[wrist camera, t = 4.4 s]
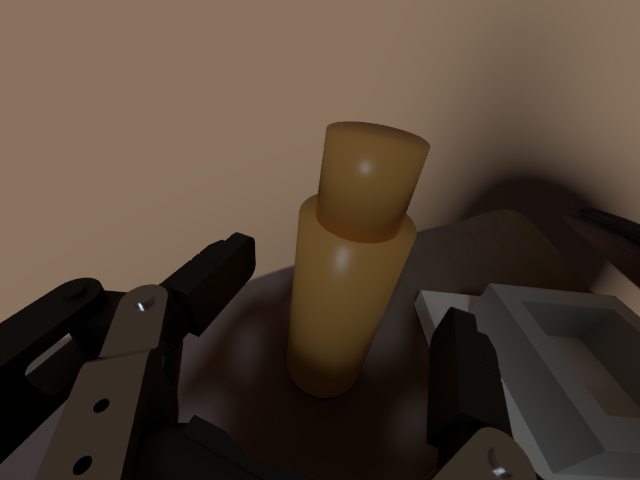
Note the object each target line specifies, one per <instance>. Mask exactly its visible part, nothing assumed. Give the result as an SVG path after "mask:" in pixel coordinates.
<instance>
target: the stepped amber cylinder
mask: <svg viewBox="0 0 640 480" xmlns="http://www.w3.org/2000/svg"><path fill="white" fill-rule="evenodd" d="M429 149H430V145H429V143H428V142H427V141H425V140H424V139H422V138H421V137H419V136H417V135H414V134H412V133H409V132H407V131H403V130H400V129H396V128H393V127H388V126H384V125H379V124H372V123H365V122H337V123H332V124H330V125H329V126H327V129H326V136H325V143H324V152H323V159H322V167H321V174H320V182H319V190H318V194H316V195H314V196H312V197H310V198H308V199H307V200H306V201H305V202H304V203H303V204H302V206H301V207H300V211H299V222H298V233H297V244H296V245H297V246H296V256H295V267H294V278H293V290H292V301H291V312H290V324H289V335H288V346H287V359H286V361H287V368H288V371H289V374H290V376H291V378H292V380H293V381H294V383H295V384H296V385H297V386H298V387H299V388H300V389H302V390H303V391H304V392H306V393H308V394H310V395H312V396H315V397H320V398H332V397H336V396H339V395H341V394H343V393H345V392H346V391H348V390H349V389H350V388H351V387H352V385H353V384H354V383H355V381H356V379H357V377H358V374H359V372H360V369H361V367H362V365H363V362H364V360H365V358H366V355H367V353H368V350H369V348H370V346H371V343H372V341H373V338H374V336H375V334H376V331H377V329H378V327H379V324H380V322H381V319H382V317H383V315H384V312H385V310H386V307H387V305H388V303H389V300H390V298H391V295H392V293H393V291H394V288H395V286H396V284H397V281H398V279H399V276H400V274H401V272H402V269H403V267H404V264H405V262H406V260H407V257H408V255H409V253H410V250H411V248H412V245H413V243H414V241H415V238H416V233H417V232H416V227H415V225H414V223H413V221H412V220H411V218H410V217H409V216H408V215H407V214H406V212H407V209H408V206H409V204H410V201H411V198H412V196H413V192H414V190H415V187H416V184H417V182H418V179H419V176H420V174H421V171H422V168H423V165H424V163H425V160H426V157H427V155H428V152H429Z"/></svg>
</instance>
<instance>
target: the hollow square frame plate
mask: <svg viewBox="0 0 640 480" xmlns="http://www.w3.org/2000/svg"><path fill="white" fill-rule="evenodd" d="M414 305H415V308H416V311H417V314H418V317H419V320H420V323H421V326H422V329H423V331H424V334H425V337H426V340H427V343H428V346H429V349H430V342H431V338H432V335H433V333H434V331H435V329H436V328H437V326H438V324H439V323H440V321H441V320H442V318H443V317H444V315H445V313H446V312H447V310H448V309H449V308H450V307H455V308H457V309H460V310H463V311H466V312H469V313H472V314H474V315H475V317H476V322H477V329H478V332H481V333H484V334H487V336H488V337H489V339H490V341H491V342H492V344H493V346H494V348H495V349H496V353H497V358H498V363H499V366H498V368H500V373H501V381H502V383H503V389H504V394H505V399H506V404H507V409H508V414H509V419H510V424H511V430H512V434H513V438H514V440H515V441H516V442H517V443H518V444H519V446H520V447H521V448H522V449H523V450H524V452H525V453H526V455H527V456H528V458H529V460H530V461H531V463H532V466H533V468H534V471H535V472H536V473H537V474H538V475H539V476H541V477H542V478H543V479H544V480H640V317H639V316H638V315H636V314H635V313H634V312H633V311H632V310H631V309H630V308H628V307H627V306H626V305H625V304H624V303H623V302H621V301H620V300H619V299H618V298H617V297H616V296H609V295H599V294H589V293H580V292H570V291H560V290H550V289H541V288H531V287H521V286H512V285H502V284H492V283H490V284H489V285H488V287H487V288H486V289H485V291H484V292H483V294H482V295H481V296H472V295H462V294H452V293H442V292H432V291H422V290H421V291H420V293H419V295H418V297H417V299H416V301H415V303H414Z"/></svg>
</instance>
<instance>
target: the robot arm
mask: <svg viewBox="0 0 640 480" xmlns="http://www.w3.org/2000/svg"><path fill="white" fill-rule="evenodd" d="M255 266H256V260H255V240H254V238H252V237H250V236H247V235H244V234H241V233H238V232H236V233H234V234H233V235H231V236H230V237H229V238H228V239H227V240H225V241H224V240H220V241H218V242H215V243H213V244H210V245H208V246H207V247H206V248H205V249H203V250H202V251H201V252H200V254H197V255H196V256H195V257H193V258H192V260H190V261H188V262H187V263H186V264H185V265H183V266H182V267H181V268H180V269H178V270H177V271H176V272H174V273H173V274H172V275H171V276H170V277H168V278H167V279H166V280H164V281H163V282H162V283H161V284H159V285H153V284H152V285H144V286H140V287H137V288H135V289H133V290H131V291H130V292H116V291H105V290H104V289H103V287H102V285H101V283H100V282H99V281H98V280H96V279H93V278H80V279H75V280H71V281H69V282H66V283H64V284H62V285H60V286H58V287H57V288H55V289H54V290H52V291H50V292H49V293H47V294H46V295H44V296H43V297H41V298H39V299H38V300H36V301H35V302H33V303H31V304H30V305H28V306H27V307H25V308H24V309H22V310H20V311H19V312H17V313H16V314H14V315H13V316H11V317H9V318H8V319H6V320H5V321H3V322H1V323H0V464H1V463H2V462H3V461H4V460H5V459H6V458H7V457H8V456H9V455H10V454H11V453H12V452H13V451H14V450H15V449H16V448H17V447H18V446H20V445H21V444H22V443H23V442H24V441H25V440H26V439H27V438H28V437H29V436H30V435H31V434H32V433H33V432H34V431H35V430H36V429H37V428H38V427H39V426H40V425H41V424H42V423H43V422H44V421H45V420H46V419H47V418H48V417H49V416H50V415H52V414H53V413H54V412H55V411H56V410H57V409H58V408H59V407H60V406H61V405H62V404H63V403H64V402H65V401H66V400H67V399H68V400H67V403H66V405H65V408H64V410H63V413H62V415H61V417H60V420H59V422H58V425H57V427H56V429H55V432H54V434H53V437H52V439H51V442H50V444H49V446H48V449H47V451H46V454H45V456H44V459H43V461H42V463H41V466H40V468H39V471H38V473H37V475H36V478H35V480H315V479H313V478H311V477H309V476H307V475H305V474H303V473H302V472H300V471H298V470H296V469H294V468H288V467H282V466H276V465H270V464H264V463H258V462H254V461H252V460H251V459H250V458H249V457H248V456H247V455H246V454H245V453H244V452H243V451H242V449H241V448H240V447H239V446H238V445H237V444H236V443H235V442H234V441H233V439H232V438H231V437H230V436H229V435H228V434H227V433H226V432H225V431H224V430H222V429H220V428H218V427H216V426H215V425H213V424H211V423H209V422H207V421H205V420H203V419H202V418H200V417H198V416H196V415H194V416H193V417H192V419H191V420H190V422H189V423H178V418H179V404H178V383H179V374H180V366H181V358H182V349H183V338H184V337H185V336H186V335H187V334H188V333H191V334H193V335H196V336H198V337H199V336H200V335H201V334H202V333H203V332H204V331H205V329H206V328H207V327H208V326H209V325H210V324H211V323H212V321H213V320H214V319H215V318H216V317H217V316H218V315H219V313H220V312H221V311H222V310H223V309H224V308H225V307H226V305H227V304H228V303H229V302H230V301H231V300H232V299H233V297H234V296H235V295H236V294H237V293H238V292H239V291H240V289H241V288H242V287H243V286H244V285H245V284H246V283H247V281H248V280H249V279H250V278H251V276H252V275H253V273H254V270H255ZM68 333H69V334H70V335H71V337H72V338H73V339H71V340H70V341H69V342H68V343H66V344H65V345H64V346H63V347H62V348H60V349H59V350H58V351H57V352H55V353H54V354H53V355H52V356H50V357H49V358H48V359H47V360H45V361H44V362H43V363H42V364H41V365H39V366H38V367H37V368H36V369H34V370H33V371H32V372H31V373H29V374H28V375H26V376H25V371H26V369H27V367H28V366H29V365H30V364H31V363H32V362H33V361H34V360H35V359H36V358H37V357H39V356H40V355H41V354H43V353H44V352H45V351H46V350H48V349H49V348H50V347H51V346H53V345H54V344H55V343H57V342H58V341H59V340H60V339H62V338H63V337H64V336H66V335H67V334H68ZM498 366H499V363H498V358H497V353H496V349H495V348H494V346H493V344H492V342H491V341H490V339H489V337H488V336H487V334H484V333H481V332H478V329H477V322H476V317H475V315H474V314H472V313H469V312H466V311H463V310H460V309H457V308H455V307H450V308H449V309H448V310H447V312H446V313H445V315H444V317H443V318H442V320H441V321H440V323H439V324H438V326H437V328H436V329H435V331H434V333H433V335H432V338H431V342H430V355H429V384H428V413H427V441H426V443H427V444H429V445H431V446H433V447H436V448H438V462H437V463H436V464H435V465H434V466H433V467H432V468H431V469H430V470H429V471H428V472H427V473H426V474H425V475H424V476H423V477H422V478H421V479H420V480H544V479H543V478H542V477H541V476H539V475H538V474H537V473H536V472H535V471H534V468H533V466H532V463H531V461H530V460H529V458H528V456H527V455H526V453H525V452H524V450H523V449H522V448H521V447H520V446H519V444H518V443H517V442H516V441H515V440H514V438H513V434H512V430H511V424H510V419H509V414H508V409H507V404H506V399H505V394H504V389H503V383H502V381H501V373H500V368H498Z"/></svg>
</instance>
